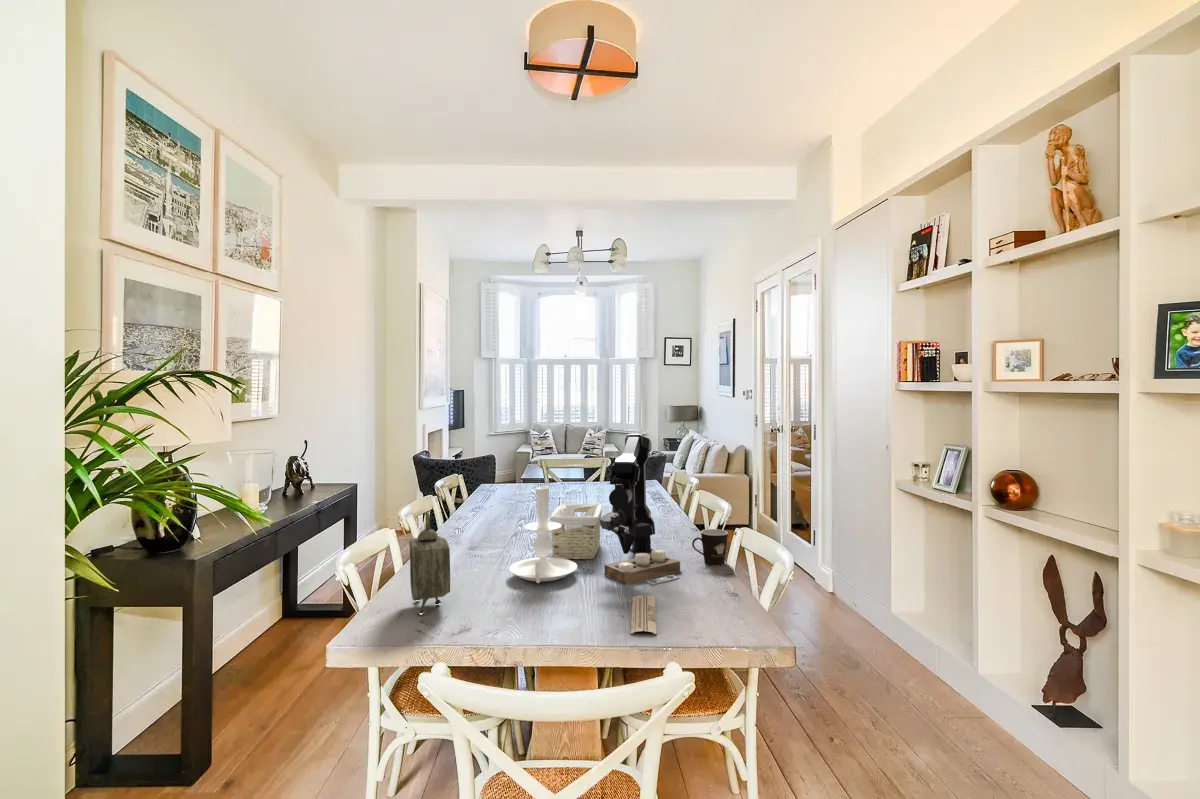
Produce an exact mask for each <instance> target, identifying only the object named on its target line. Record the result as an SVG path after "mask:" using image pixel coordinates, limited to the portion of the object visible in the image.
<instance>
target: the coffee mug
mask: <svg viewBox="0 0 1200 799" xmlns="http://www.w3.org/2000/svg"><path fill="white" fill-rule="evenodd" d="M728 535H729V532H728V531H727V530H725V529H724V530H723V529H719V528H718V529H717V528H710V529H709V528H707V529H703V530H701V531H700V536H701V537H695V538H694V539H693V540H692V541H691V542H692V544H691V545H692V546H691V547H692V548H693V549H694V550H695V552H696V553H697V552H698V553H699V554H700V555H701V556H702V555H703V562H704V564H705V563H706V564H705V565H707V564H709V565H708V566H711V565H715V567H718V566H717V565H720V566H723V565H722V564H724V565H725V562H726V554H727V552H726V551H727V545H728V544H727V543H728ZM698 540H700V541H701V545H702V551H703V552H702V551H700V550H698V549H697V547H696V546H695V542H696V541H698Z"/></svg>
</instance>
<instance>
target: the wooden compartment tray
mask: <svg viewBox="0 0 1200 799" xmlns="http://www.w3.org/2000/svg"><path fill="white" fill-rule="evenodd" d="M649 555H650V565H646V566H642V567H641V566H638V565H636V564H635V557H634V558H629V559H625V560H620V561H616V562H613V563H612V562H611V563H608V564H607V563H606V564H604V576H607V577H610V578H612V579H614V580H615V581H619V582H620V583H624V584H625V585H629V584H632V583H637V582H641V581H644V580H645V581H646V580H650V579H654V578H658V577H662V576H666V575H670V574H672V573H675V572H680V571H681V561H680V560H677V559H674V558H672V557H668V556H666V561H664V562H659V563H657V562H654V561H652V553H651V554H649ZM623 562H628V563H632V564H633V569H629V570H625V571H624V570H621V569H619V564H620V563H623Z"/></svg>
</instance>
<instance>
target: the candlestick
mask: <svg viewBox="0 0 1200 799" xmlns="http://www.w3.org/2000/svg"><path fill="white" fill-rule="evenodd" d="M535 490H536V505H535V507H536V514H537V521H536V522H529V523H527V524H525V525H524V526H523V528H524V529H525V530H528V531H532V532H535V533H537V535H536V538H535V540H534V542H533V549H534V552H535V553H536V554H537V555H538V556H539V557H531V558H526V559H522V560H518V561H515V562H513V563H512V564H511V565H509V567H508V572H510V573H511V574H512V575H515V576H517V577H519V578H520V579H523V580H526V581H530V582H536V584H540V583H541V582H551V581H557V580H559V579H563V578H565V577H566V576H568V575H569V574H571V573H574V572H575V571H576V570H577V569H578V564H577V563H576V562H574V561H572V559H563V558H555V557H553V556H548V555H549V554H550V553H551V551H552V550H553V547H552V545H553V543H552V538H551V537H550V535H549V534H550V532H551V531H552V530H555V529H558V528H560V527H561V526H562V525H561V524H559V523H555V522H550V521H549V520H548V517H549V514H550V513H549V501H550V496H549V494H550V491H549V490H550V488H549V485H543V486H542V485H540V487H536V489H535Z"/></svg>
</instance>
